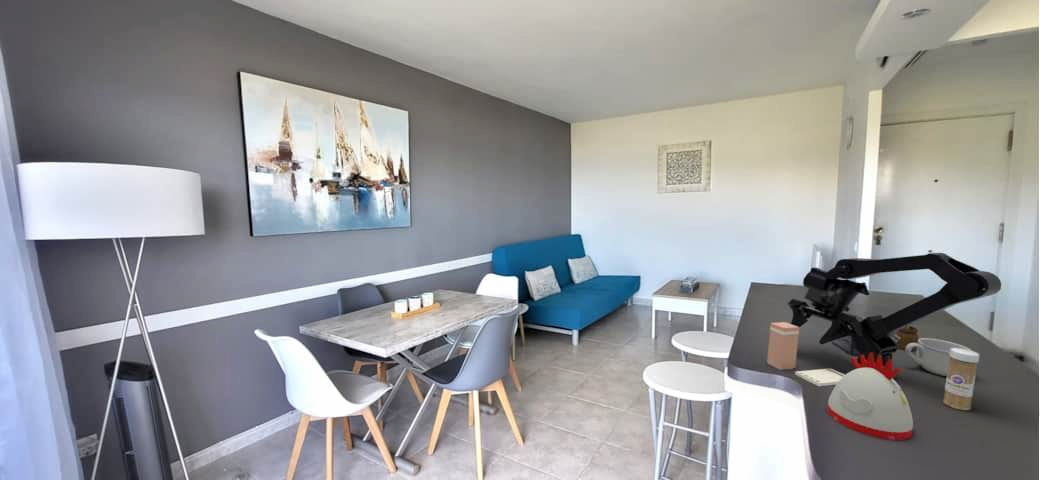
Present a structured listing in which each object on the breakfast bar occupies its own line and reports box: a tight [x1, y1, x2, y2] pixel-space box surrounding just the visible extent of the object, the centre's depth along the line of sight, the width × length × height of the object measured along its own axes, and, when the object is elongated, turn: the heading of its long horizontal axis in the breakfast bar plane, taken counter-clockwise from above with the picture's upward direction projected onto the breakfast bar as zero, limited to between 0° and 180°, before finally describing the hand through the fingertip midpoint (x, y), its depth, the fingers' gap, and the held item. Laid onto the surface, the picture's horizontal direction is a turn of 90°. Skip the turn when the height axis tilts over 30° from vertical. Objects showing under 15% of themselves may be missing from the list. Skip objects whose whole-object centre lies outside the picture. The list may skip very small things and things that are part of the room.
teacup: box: [904, 337, 973, 377], centre depth 113 cm, size 14×11×8 cm
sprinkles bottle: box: [942, 348, 980, 411], centre depth 93 cm, size 5×5×13 cm
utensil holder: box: [892, 325, 919, 352], centre depth 131 cm, size 6×6×12 cm
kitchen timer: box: [826, 353, 914, 441], centre depth 86 cm, size 14×14×15 cm
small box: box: [831, 313, 865, 356], centre depth 128 cm, size 11×6×10 cm, turn 168°
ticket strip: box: [794, 368, 846, 387], centre depth 108 cm, size 12×7×1 cm, turn 102°
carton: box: [767, 321, 800, 371], centre depth 115 cm, size 5×5×12 cm
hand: (804, 337), depth 115 cm, fingers open, 9 cm apart
